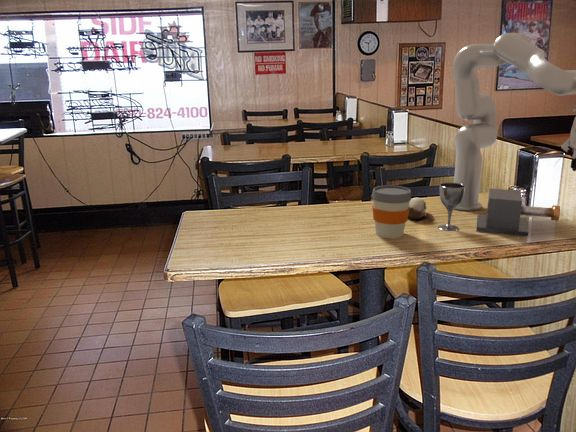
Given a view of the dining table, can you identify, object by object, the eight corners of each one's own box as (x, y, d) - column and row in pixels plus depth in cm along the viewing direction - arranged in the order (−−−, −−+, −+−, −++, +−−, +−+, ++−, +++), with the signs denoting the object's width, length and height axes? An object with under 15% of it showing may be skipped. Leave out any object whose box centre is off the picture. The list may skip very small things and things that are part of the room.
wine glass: (462, 225, 187) (466, 183, 182) (458, 232, 180) (463, 189, 175) (438, 223, 190) (442, 181, 185) (434, 229, 183) (438, 186, 179)
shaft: (506, 218, 182) (507, 203, 180) (505, 213, 186) (507, 199, 185) (558, 222, 177) (560, 208, 175) (556, 218, 181) (558, 204, 180)
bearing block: (476, 231, 181) (479, 198, 178) (477, 217, 195) (480, 187, 192) (528, 236, 176) (532, 202, 172) (525, 222, 190) (529, 190, 187)
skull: (406, 207, 205) (425, 191, 198) (423, 229, 202) (443, 213, 196) (391, 214, 196) (410, 196, 189) (409, 236, 193) (429, 220, 187)
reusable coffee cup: (363, 230, 182) (364, 187, 178) (394, 226, 187) (397, 183, 182) (383, 242, 171) (386, 196, 167) (416, 237, 176) (419, 192, 171)
